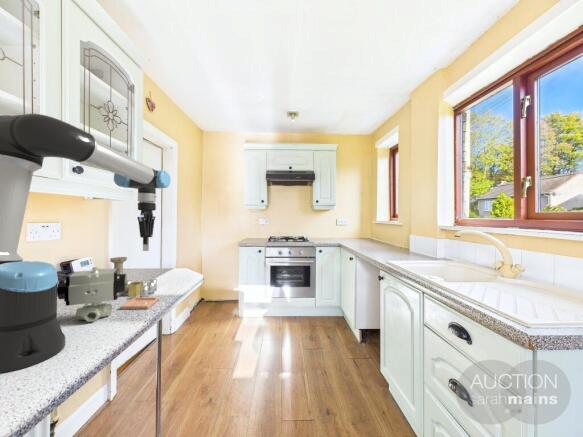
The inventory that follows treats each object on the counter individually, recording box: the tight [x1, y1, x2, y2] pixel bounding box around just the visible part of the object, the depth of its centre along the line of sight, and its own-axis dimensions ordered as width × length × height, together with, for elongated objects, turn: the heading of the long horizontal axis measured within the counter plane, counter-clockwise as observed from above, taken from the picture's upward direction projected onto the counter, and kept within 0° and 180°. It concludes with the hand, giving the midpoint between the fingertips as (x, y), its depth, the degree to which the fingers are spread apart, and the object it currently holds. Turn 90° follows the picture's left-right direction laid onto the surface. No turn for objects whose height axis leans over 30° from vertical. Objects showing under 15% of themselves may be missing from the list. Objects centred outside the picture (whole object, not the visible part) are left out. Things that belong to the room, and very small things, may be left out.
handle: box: [110, 256, 128, 274], centre depth 117 cm, size 5×6×15 cm
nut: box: [127, 281, 144, 297], centre depth 111 cm, size 6×6×5 cm
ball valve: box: [57, 266, 128, 323], centre depth 85 cm, size 18×8×18 cm, turn 118°
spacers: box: [118, 278, 158, 298], centre depth 111 cm, size 15×15×5 cm
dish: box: [119, 296, 160, 310], centre depth 99 cm, size 10×10×1 cm
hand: (146, 250), depth 120 cm, fingers closed
